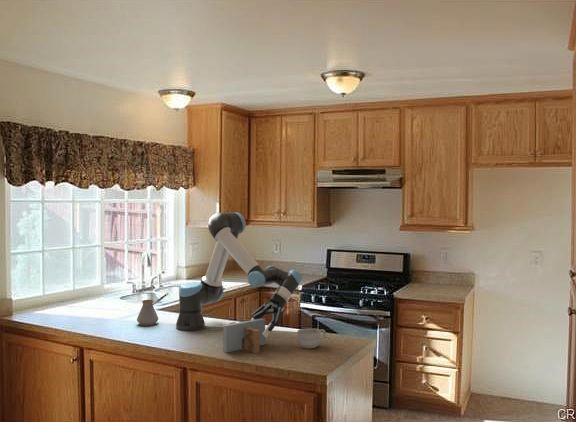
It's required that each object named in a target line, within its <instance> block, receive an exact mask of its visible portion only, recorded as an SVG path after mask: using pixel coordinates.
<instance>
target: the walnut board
mask: <svg viewBox="0 0 576 422" xmlns="http://www.w3.org/2000/svg"><path fill="white" fill-rule="evenodd" d="M233 323H237V322H236V321H233V322H230V323H229V324H233ZM260 347H261V345H260V330H257V329H254V328H251V327H247V328H245V338H242V350H245V351H248V352H251V353H253V354H258V353H260Z"/></svg>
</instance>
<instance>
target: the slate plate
mask: <svg viewBox="0 0 576 422" xmlns="http://www.w3.org/2000/svg"><path fill="white" fill-rule="evenodd" d="M247 327H251V328H254V329H257V330H260V346H265V345H266V338H265V337H264V336H263V335H262V333H263V332H264V330H265V329H266V319H265V318H262V317H260V318H259V319H256V320H251V319H250V320H246V321H240V322H236V323H233V324H230V323H228V324H223V326H222V329H223V331H222V335H223V336H222V341H223V342H222V345H223V346H222V352H224V353H225V354H226V353H230V352H236V351H241V350H243V348H242V338H245V328H247Z"/></svg>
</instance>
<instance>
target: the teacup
mask: <svg viewBox="0 0 576 422" xmlns="http://www.w3.org/2000/svg"><path fill="white" fill-rule="evenodd" d="M321 333H323V334H322V335H321ZM326 335H327V332H326V330H325V329H319V328H313V327H312V328H301V329H298V330H297V342H298V344H299V346H300V347H301V348H302V349H315V348H317V347H318V346H320V343H321V341H322V340H323V339H324V338H325V337H326Z"/></svg>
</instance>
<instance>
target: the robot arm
mask: <svg viewBox="0 0 576 422" xmlns="http://www.w3.org/2000/svg"><path fill="white" fill-rule="evenodd" d="M207 224H208V225H207V227H208V230H209V233H210V235H211V236H212V237H213V239H214V240H215V241H216V243H215V245H214V249H213V252H212V255H211V258H210V261H209V264H208V267H207V270H206V272H205V275H204V276H202V277H201V280H200V282H198V281H191V282H185V283H183V284H181V285H180V287H179V293H178V296H179V299H178V300H179V302H178V304H179V311H178V312H179V313H178V317H177V319H176V323H175V328H176V330H181V331H198V330H201V329H204V328H206V323H205V319H204V315H203V313H202V308H203V307H202V306H204V305H210V304H214V303H217V302H218V301H221V299H222V297H223V295H224V291H225V290H224V286H223V281H222V278H223V275H224V274H223V273H224V271H225V268H226V264H227V262H228V259H229V256H231V257H232V258H233V260H234V261H235V262H236V263H237V265H238V266H239V267H240V268H241V269H242V270H243V272H245V274H246V275H247V282H248V284H249V285H250V286H251V287H254V288H259V287H263V286H266V285H267V286H268V285H273V284H275V285H277V286H278V287H277V288H276V290H275V291H274V293H273V294H272V295H271V297H270V299H269V303H268V302H266V301H265V302H264V303H263V304H261V305H260V306H259V307H258V308H257V309H255V310H254V311H253V312H252V313H251V314H250V316H251V319H250V320H256V319H261V318H262V317H264V316H266V315H271V321H270V322H269V323H268V325H267V326H266V327H265V330H264V332H263V333H262V335H263V336H264V337H265V339H266V338H268V336H269V335H270V333H271V332H272V331H273V330H274V328H275V327H279V326H280V325H281V321H282V317H283V313H284V312H285V308H284V307H285V305H286V304H287V302H288V301H289V299H290V298H291V297H292V295H293V293H294V292H295V291H296V289H297V288H298V287H299V285H300V284H301V282H302V281H303V276H302V274H301V272H299V271H298V270H296V269H290V270H289V271H285V270H283V269H280V268H279V267H277V266H273V265H271V264H270V265H266V267H264V269H263V267H261V265H260V264H259V263H257V261H256V260H255V259H254V257H253V256H252V255H251V254H250V253H249V252H248V250H247V249H246V248H245V247H244V246H243V244H242V243H241V242H240V240H238V237H239V235H241V234H242V233H243V232H244V231H245V230H246V220H245V217H244V216H243V215H242V214H241V213H240V212H237V211H236V212H234V211H230V212H216V213H214V214H213V215H211V217H210V218H209V220H208V222H207Z"/></svg>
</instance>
